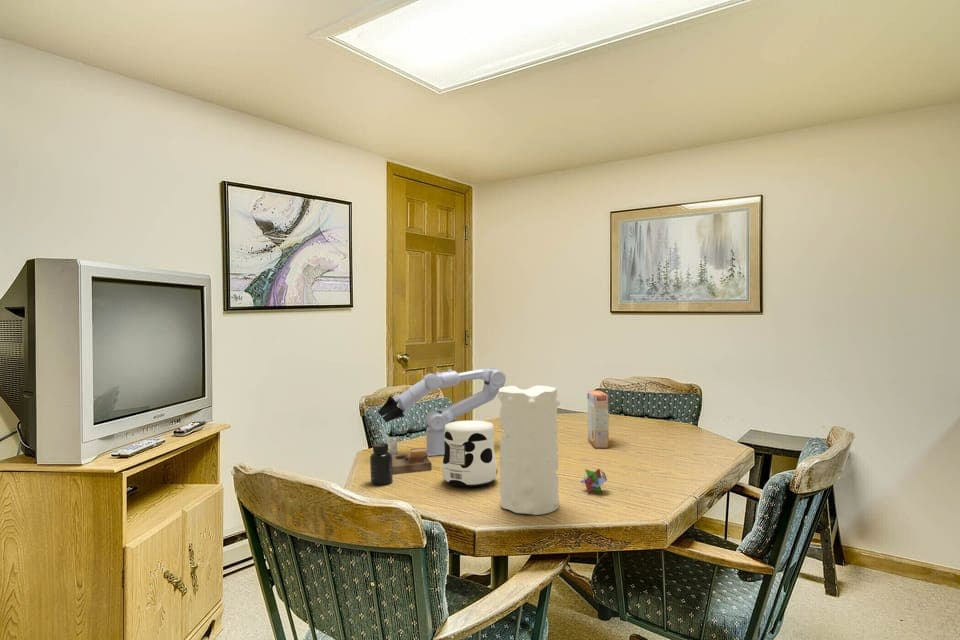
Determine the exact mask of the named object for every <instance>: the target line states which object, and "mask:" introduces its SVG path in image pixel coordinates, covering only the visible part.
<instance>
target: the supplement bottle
mask: <svg viewBox="0 0 960 640" xmlns="http://www.w3.org/2000/svg"><path fill="white" fill-rule="evenodd" d="M372 452H373V453H371V455H370V457H369V466H370V469H369V471H370V484H371V485H373V486H378V487H379V486H388V485H390V484H392V483H393V477H394V476H393V475H394V474H393V473H392V455H391V453H390V452H389V443H385V442H381V443H379V442H378V443H375V444H373V445H372Z"/></svg>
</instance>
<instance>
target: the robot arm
mask: <svg viewBox="0 0 960 640" xmlns="http://www.w3.org/2000/svg"><path fill="white" fill-rule="evenodd" d="M422 378H423V379H421V380H420V381H418V382H416V383H415V384H413V385H412V386H411V387H409V388H408V389H406V390H405V391H404V392H402V393H400V394H399V395H398V394H397V393H396V394H394V396H392V395H389V396H388V398H387V400H386V401H385V402H384V404H383V405H382V406H381V408H379V410H378V411H377V413H378V414H379V416H380V417H382V420H383V421H384V422H385V423H388V422H390V421H394V420H396V419H399V418H400V419H401V418H404V417H405V413H407V411H408V409H409V408H410V407H412V406H413V405H414V404H415V403H417V402H419V400H421V399H422V398H424V397H426V396H427V395H428V394H429V393H431V391H437V390H438V389H439V388H440V389H441V388H448V387H454V386H457V385H458V384H459V383H460V382H466V381H472V380H473V381H474V380H482V381H483V387H482V390H481V391H479V392H477V393H475V394H473V395H470V396H468V397H466V398H464V399H462V400H460V401H458V402H456V403H453V404H451V405H449V406H447V407H444V408H439V409H438V410H430V411H429V412H427V414H426V415H425V422H426V425H427V427H426V430H425V432H426V434H425V435H426V439H425V440H426V453H425V455H427V457H432V456H433V457H435V456H444V453H445V445H444V438H445V435H444V431H445V425H446V424H448V423H451V422H453V420H454V419H456V418H459V417H461V416H463V415H465V414H467V413H468V412H471V411H473V410H474V409H478V408H479V407H481V406H484V404H487V403H489V402H491V401H493V400H494V399H495V398H496V397H497V395H498V392H499V389H500V388H502V387H505V384H506V378H507V377H506V374H505V373H504V371H503V370H500V369H496V368H493V367H492V368H479V369H478V368H477V369H474V370H468V371H463V372H457V371H456V370H452V369H447V371H443V372H439V371H436V372H435V373H428V374H425V375H424V376H423V377H422Z"/></svg>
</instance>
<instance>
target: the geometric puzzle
mask: <svg viewBox="0 0 960 640" xmlns="http://www.w3.org/2000/svg"><path fill="white" fill-rule="evenodd" d="M584 471H585V474H586V475H587V476H586V477H584V478H583V479H581V481H580V483H581V484H583V485H584V486H585V487H586V488H585V489H586V492H587V494H591V493H592V492H593V491H595V492H598V493H603V491H604V490H603V489H602V488H601V487H604V486H603V485H604V483H606V482H607V481H608V479H607V475H606V473H605V472H604V471H603V470H601V469H600V468H598V469H597V468H596V470H595V471H593V470H590V469H586V468H585V470H584ZM601 485H602V486H601Z"/></svg>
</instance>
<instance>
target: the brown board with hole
mask: <svg viewBox="0 0 960 640" xmlns="http://www.w3.org/2000/svg"><path fill="white" fill-rule="evenodd" d="M410 453H411V452H407V453H397V454H395V455H392V473H393V475H398V474H409V473H417V472H416V471H419V472H426V471H425V470H428V471H432V470H433V468H432V465H433V464H432V461H431V460H429V458H428V455H427V454H425V456H424V459H417V460H409V456H410Z"/></svg>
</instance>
